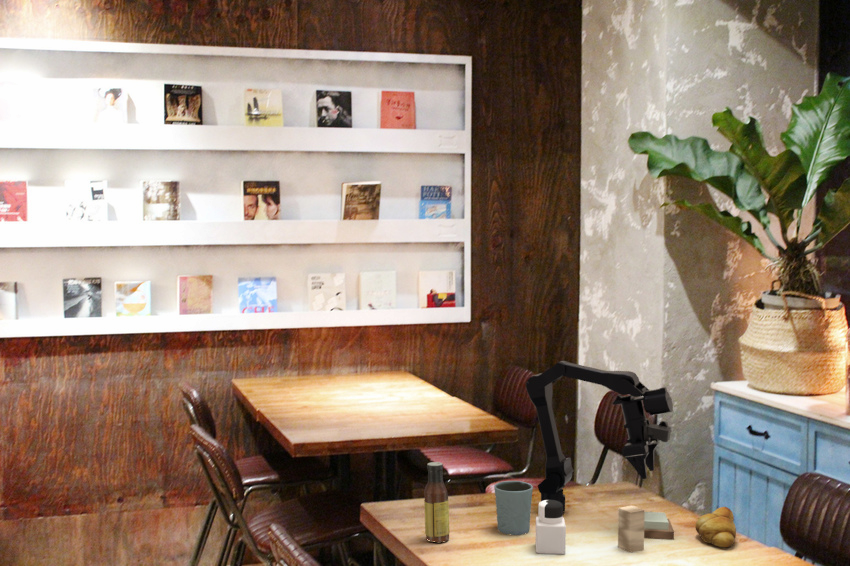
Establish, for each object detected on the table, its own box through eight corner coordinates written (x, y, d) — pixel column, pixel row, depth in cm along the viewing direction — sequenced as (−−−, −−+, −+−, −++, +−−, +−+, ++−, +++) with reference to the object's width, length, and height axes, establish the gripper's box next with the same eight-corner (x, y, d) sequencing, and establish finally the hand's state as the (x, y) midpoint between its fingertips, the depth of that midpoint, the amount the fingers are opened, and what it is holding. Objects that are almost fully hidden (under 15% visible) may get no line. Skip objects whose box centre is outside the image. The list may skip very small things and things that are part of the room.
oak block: (617, 547, 220) (618, 507, 220) (631, 544, 223) (632, 505, 222) (630, 552, 216) (630, 512, 216) (643, 549, 219) (644, 510, 218)
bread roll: (740, 551, 218) (741, 519, 217) (700, 549, 219) (700, 517, 219) (731, 534, 230) (731, 504, 230) (693, 532, 232) (693, 502, 232)
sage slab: (635, 528, 229) (635, 520, 229) (632, 518, 237) (632, 510, 237) (668, 530, 227) (668, 522, 227) (664, 519, 236) (664, 512, 236)
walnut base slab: (630, 537, 228) (630, 529, 228) (627, 523, 239) (627, 516, 239) (673, 539, 226) (674, 531, 226) (668, 526, 237) (669, 518, 237)
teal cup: (537, 527, 236) (537, 483, 235) (525, 538, 226) (525, 492, 226) (501, 522, 240) (501, 478, 239) (488, 533, 231) (488, 488, 230)
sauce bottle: (452, 537, 227) (452, 461, 226) (445, 545, 221) (445, 467, 220) (428, 534, 229) (428, 459, 228) (420, 542, 223) (420, 465, 222)
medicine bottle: (563, 544, 222) (564, 498, 221) (565, 554, 215) (566, 506, 214) (535, 543, 223) (535, 497, 222) (536, 553, 215) (536, 505, 215)
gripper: (657, 419, 226) (671, 479, 225) (671, 407, 242) (684, 463, 241) (615, 426, 231) (629, 484, 230) (632, 413, 247) (644, 468, 246)
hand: (648, 474), depth 237 cm, fingers open, 9 cm apart
